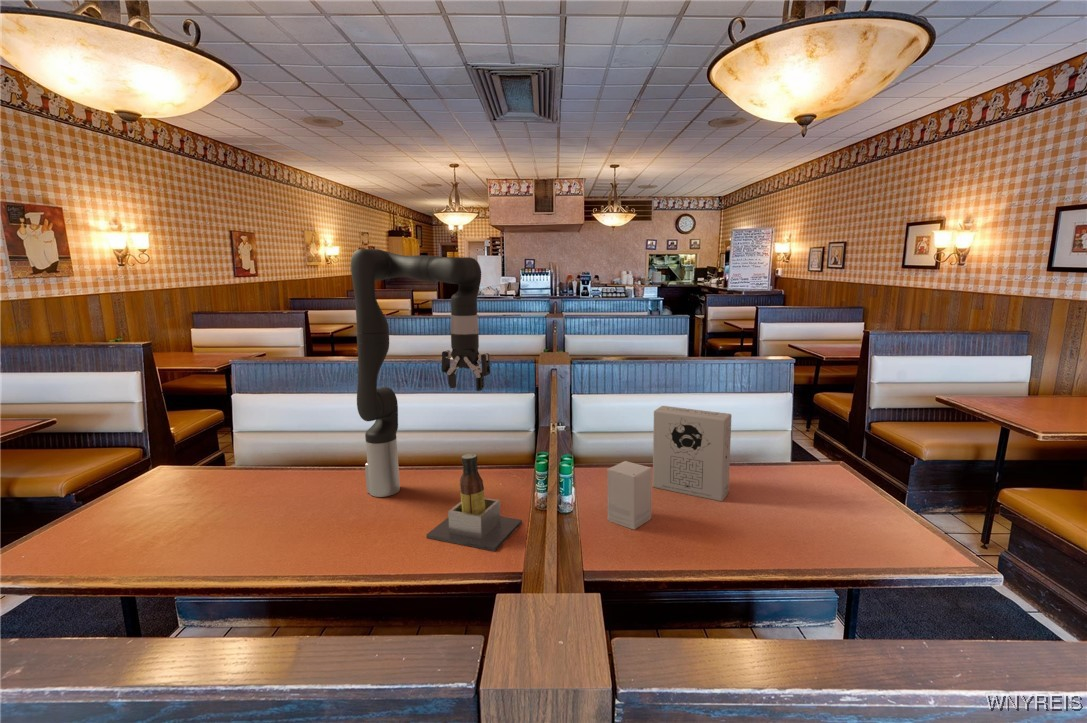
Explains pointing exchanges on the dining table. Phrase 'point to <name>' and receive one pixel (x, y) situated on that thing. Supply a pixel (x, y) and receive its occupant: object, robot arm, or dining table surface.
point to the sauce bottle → (471, 486)
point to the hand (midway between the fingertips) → (466, 389)
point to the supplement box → (629, 494)
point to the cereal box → (692, 452)
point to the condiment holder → (476, 527)
